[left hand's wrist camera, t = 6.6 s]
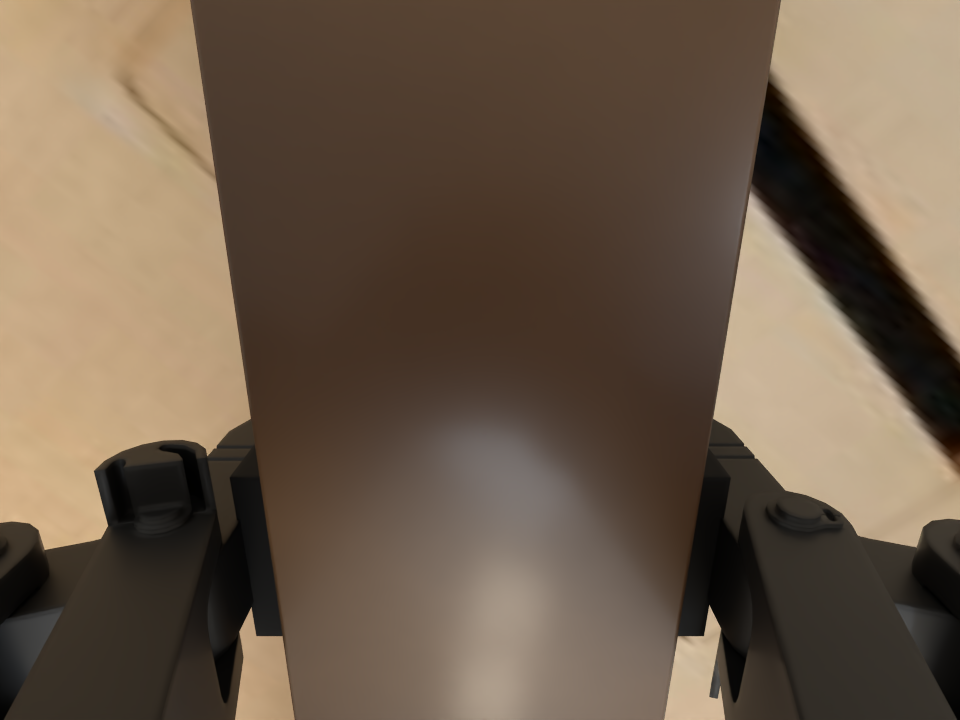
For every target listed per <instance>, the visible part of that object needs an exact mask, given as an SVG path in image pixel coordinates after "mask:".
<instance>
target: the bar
mask: <svg viewBox="0 0 960 720" xmlns="http://www.w3.org/2000/svg"><path fill="white" fill-rule="evenodd" d="M190 2H191V9H192V16H193V23H194V29H195V36H196V43H197V50H198V57H199V64H200V71H201V78H202V84H203V91H204V98H205V105H206V112H207V119H208V126H209V133H210V139H211V146H212V153H213V160H214V167H215V174H216V181H217V188H218V194H219V201H220V208H221V215H222V222H223V229H224V236H225V243H226V249H227V256H228V263H229V270H230V277H231V284H232V291H233V298H234V304H235V311H236V318H237V325H238V332H239V339H240V346H241V353H242V359H243V366H244V373H245V380H246V387H247V394H248V401H249V408H250V415H251V421H252V428H253V435H254V442H255V449H256V456H257V463H258V470H259V476H260V483H261V490H262V497H263V504H264V511H265V518H266V525H267V531H268V538H269V545H270V552H271V559H272V566H273V573H274V580H275V586H276V593H277V600H278V607H279V614H280V621H281V628H282V635H283V641H284V648H285V655H286V662H287V669H288V676H289V683H290V690H291V696H292V703H293V710H294V717H295V720H664V717H665V711H666V705H667V699H668V693H669V686H670V680H671V674H672V668H673V662H674V656H675V649H676V643H677V637H678V631H679V625H680V619H681V613H682V606H683V600H684V594H685V588H686V582H687V576H688V569H689V563H690V557H691V551H692V545H693V539H694V532H695V526H696V520H697V514H698V508H699V502H700V495H701V489H702V483H703V477H704V471H705V465H706V458H707V452H708V446H709V440H710V434H711V428H712V421H713V415H714V409H715V403H716V397H717V391H718V384H719V378H720V372H721V366H722V360H723V354H724V348H725V341H726V335H727V329H728V323H729V317H730V311H731V304H732V298H733V292H734V286H735V280H736V274H737V267H738V261H739V255H740V249H741V243H742V237H743V230H744V224H745V218H746V212H747V206H748V200H749V193H750V187H751V181H752V175H753V169H754V163H755V156H756V150H757V144H758V138H759V132H760V126H761V119H762V113H763V107H764V101H765V95H766V89H767V83H768V76H769V70H770V64H771V58H772V52H773V46H774V39H775V33H776V27H777V21H778V15H779V9H780V2H781V0H190Z"/></svg>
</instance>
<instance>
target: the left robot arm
mask: <svg viewBox="0 0 960 720" xmlns="http://www.w3.org/2000/svg"><path fill="white" fill-rule="evenodd" d="M94 473H95V477H96V481H97V485H98V488H99V492H100V496H101V500H102V504H103V507H104V511H105V515H106V519H107V523H108V527H107V529H106V531H105V533H104V535H103V537H102V538H101V539H99V540H95V541H91V542H85V543H80V544H75V545H69V546H64V547H59V548H54V549H48V550H44V547H43V544H42V540H41V537H40V534H39V531H38V530H37V529H36V528H35V527H33V526H32V525H31V524H28V523H20V522H5V523H0V720H235V715H236V708H237V700H238V693H239V686H240V678H241V671H242V664H243V651H242V644H241V639H240V633H239V631H240V629H241V627H242V625H243V623H244V621H245V619H246V617H247V615H248V613H249V611H250V609H251V607H252V612H253V618H254V624H255V630H256V636H283V635H282V628H281V621H280V614H279V607H278V600H277V593H276V586H275V580H274V573H273V566H272V559H271V552H270V545H269V538H268V531H267V525H266V518H265V511H264V504H263V497H262V490H261V483H260V476H259V470H258V463H257V456H256V449H255V442H254V435H253V428H252V421H251V419H250V420H248V421H247V422H245V423H243V424H241V425H240V426H238V427H236V428H234V429H233V430H231V431H229V432H228V434H227V435H226V436H225V437H224V438H223V439H222V440H221V442H220V443H219V444H218V445H217V449H214V450H213V451H212V452H211V453H210V454H209V455H208V456H207V453H206V449H205V448H204V447H202V446H201V445H199V444H198V443H195V442H190V441H185V440H169V441H159V442H154V443H148V444H143V445H140V446H137V447H134V448H131V449H128V450H125V451H122V452H120V453H118V454H116V455H115V456H113V457H111V458H109V459H107V460H105V461H104V462H103V463H102V464H101V465H100V466H99V467H98V468H97V469H96V470H95V471H94ZM709 605H710V607H711V609H712V611H713V613H714V615H715V617H716V619H717V621H718V623H719V625H720V627H721V633H720V639H719V644H718V650H717V655H716V661H715V666H714V671H713V677H712V682H711V689H710V696H709V697H712V698H717V699H718V694H719V689H720V686H721V692H722V699H723V706H724V714H725V720H960V520H954V519H944V520H935V521H931V522H930V523H928V524H927V525H926V526H924V527H923V529H922V532H921V536H920V539H919V542H918V545H917V548H916V547H911V546H905V545H900V544H895V543H889V542H884V541H879V540H873V539H868V538H864V537H860V536H858V535H857V534H856V532H855V530H854V528H853V526H852V525H851V524H850V522H849V521H848V520H847V519H846V518H845V517H844V515H843V514H842V513H840V512H839V511H837V510H836V509H834V508H832V507H831V506H829V505H828V504H826V503H824V502H822V501H819V500H817V499H814V498H812V497H809V496H807V495H802V494H798V493H793V492H789V491H785V490H784V489H783V487H782V486H781V485H780V484H779V483H778V482H777V481H776V479H775V478H774V477H773V476H772V475H771V474H770V473H769V472H768V470H767V469H766V468H765V467H764V466H763V465H762V464H761V462H760V461H759V460H758V459H755V458H754V455H753V453H752V452H751V451H750V450H749V449H748V448H747V447H744V443H743V442H742V441H741V440H740V439H739V438H738V436H737V435H736V434H735V433H734V432H733V431H732V430H731V429H730V428H728V427H726V426H724V425H723V424H721V423H719V422H717V421H716V420H714V419H713V421H712V428H711V434H710V440H709V446H708V452H707V458H706V465H705V471H704V477H703V483H702V489H701V495H700V502H699V508H698V514H697V520H696V526H695V532H694V539H693V545H692V551H691V557H690V563H689V569H688V576H687V582H686V588H685V594H684V600H683V606H682V613H681V619H680V625H679V631H678V636H704V632H705V626H706V620H707V615H708V609H709Z"/></svg>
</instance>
